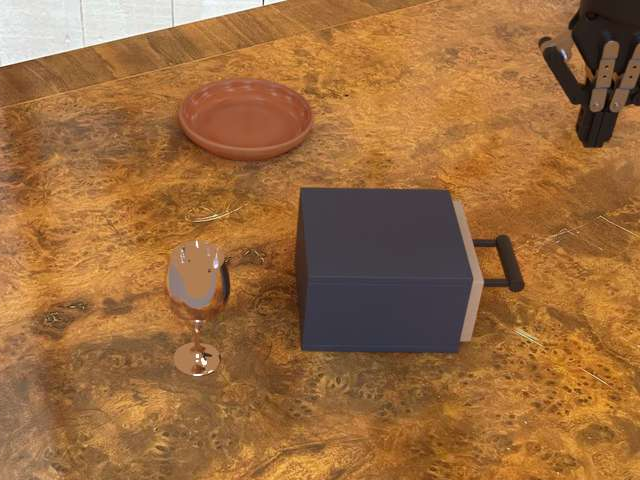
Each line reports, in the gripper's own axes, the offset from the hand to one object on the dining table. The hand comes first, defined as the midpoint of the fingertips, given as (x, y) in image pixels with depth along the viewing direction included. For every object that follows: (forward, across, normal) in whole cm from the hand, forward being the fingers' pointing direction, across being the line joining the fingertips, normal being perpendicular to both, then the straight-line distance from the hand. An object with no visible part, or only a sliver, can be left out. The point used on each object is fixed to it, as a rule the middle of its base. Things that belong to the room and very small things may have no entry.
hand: (590, 142), depth 93 cm
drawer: (+18, -13, 0) cm, 22 cm away
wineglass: (+19, -34, -8) cm, 40 cm away
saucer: (+19, -29, +31) cm, 47 cm away
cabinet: (+19, -17, 0) cm, 25 cm away
